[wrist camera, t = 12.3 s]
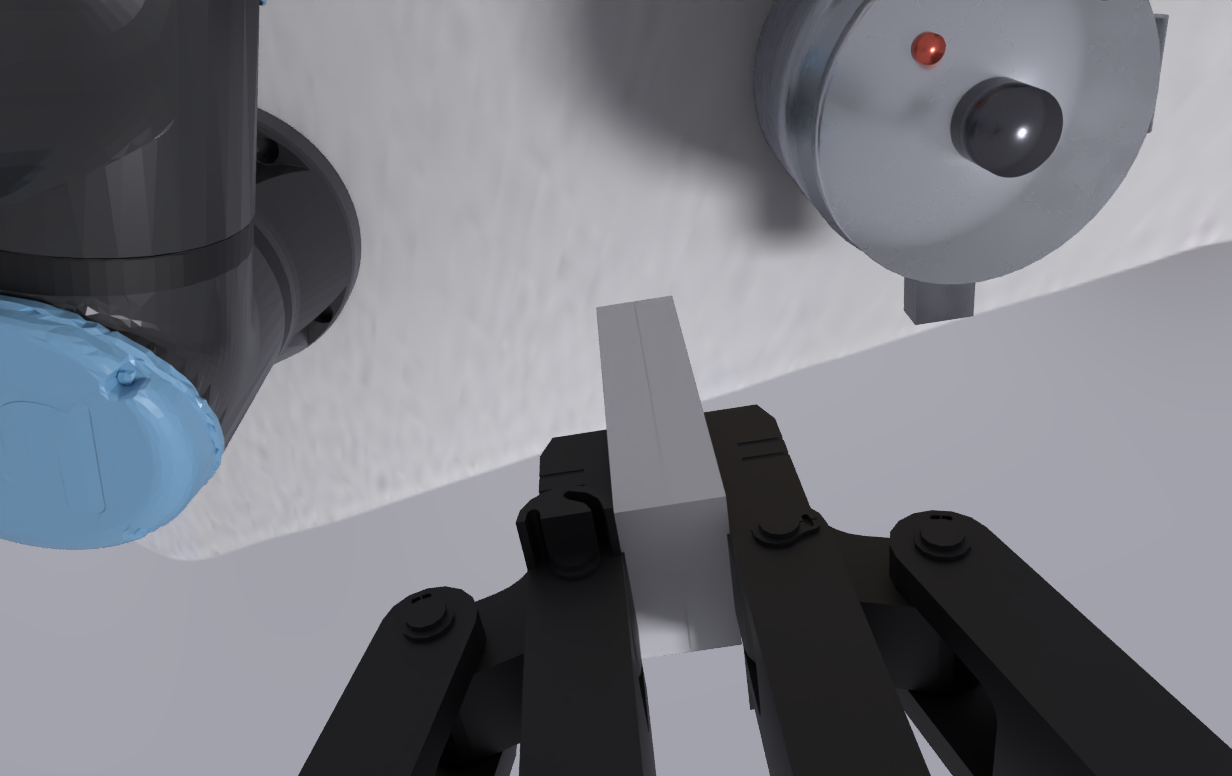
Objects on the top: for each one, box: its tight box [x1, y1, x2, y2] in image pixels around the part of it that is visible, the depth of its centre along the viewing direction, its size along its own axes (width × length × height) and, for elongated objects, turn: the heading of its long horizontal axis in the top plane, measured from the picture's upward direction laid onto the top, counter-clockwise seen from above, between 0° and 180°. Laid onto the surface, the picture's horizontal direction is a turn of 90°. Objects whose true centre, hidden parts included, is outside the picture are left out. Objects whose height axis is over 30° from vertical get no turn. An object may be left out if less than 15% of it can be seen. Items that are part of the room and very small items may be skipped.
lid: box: [811, 0, 1160, 284], centre depth 38 cm, size 15×15×4 cm
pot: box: [754, 0, 1169, 325], centre depth 45 cm, size 17×22×10 cm
